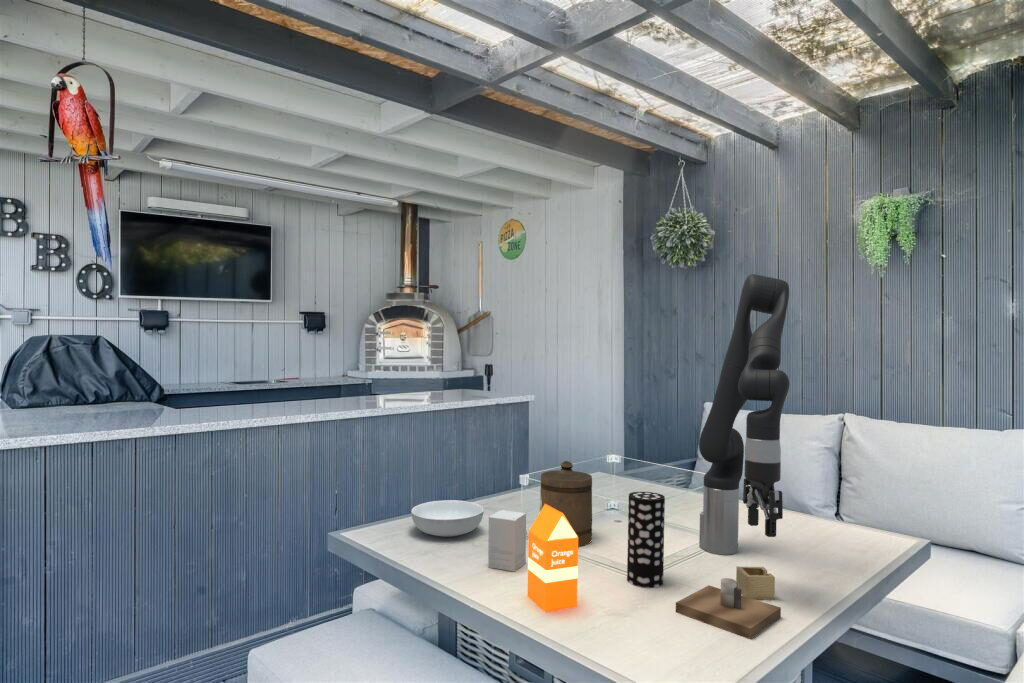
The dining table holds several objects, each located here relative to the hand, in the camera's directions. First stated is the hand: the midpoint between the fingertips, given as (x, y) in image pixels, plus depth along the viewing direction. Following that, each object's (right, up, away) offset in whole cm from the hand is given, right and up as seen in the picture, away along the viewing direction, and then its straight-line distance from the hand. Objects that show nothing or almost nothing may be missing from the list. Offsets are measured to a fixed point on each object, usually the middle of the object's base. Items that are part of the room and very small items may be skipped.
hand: (761, 530), depth 141 cm
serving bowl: (-75, -13, +41) cm, 87 cm away
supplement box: (-57, -13, +15) cm, 61 cm away
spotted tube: (-25, -14, +7) cm, 29 cm away
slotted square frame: (-1, -14, 0) cm, 14 cm away
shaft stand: (-11, -14, -11) cm, 21 cm away
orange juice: (-47, -14, -6) cm, 50 cm away
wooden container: (-41, -14, +37) cm, 57 cm away
